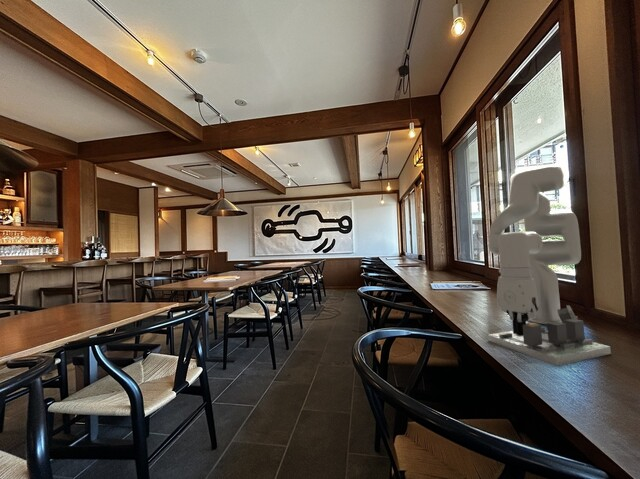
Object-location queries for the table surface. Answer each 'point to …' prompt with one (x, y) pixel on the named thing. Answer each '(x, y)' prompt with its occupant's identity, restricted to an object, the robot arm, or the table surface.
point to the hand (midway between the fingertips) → (520, 333)
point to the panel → (551, 348)
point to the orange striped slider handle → (532, 334)
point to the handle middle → (557, 333)
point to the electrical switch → (566, 314)
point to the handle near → (575, 329)
